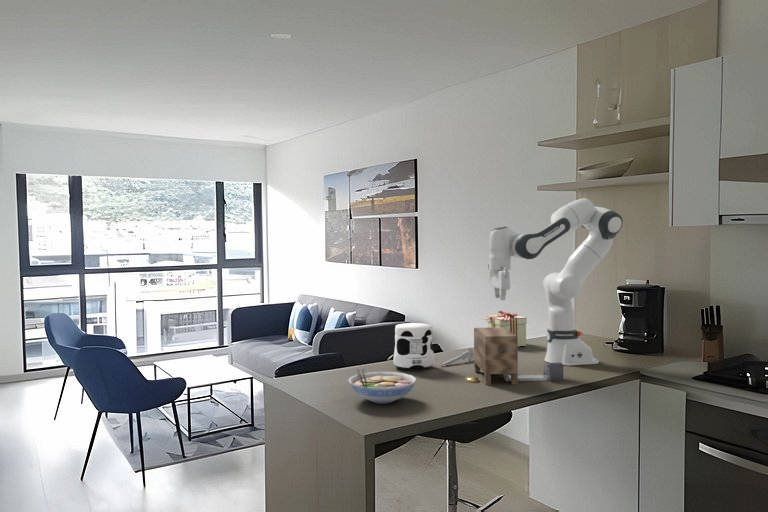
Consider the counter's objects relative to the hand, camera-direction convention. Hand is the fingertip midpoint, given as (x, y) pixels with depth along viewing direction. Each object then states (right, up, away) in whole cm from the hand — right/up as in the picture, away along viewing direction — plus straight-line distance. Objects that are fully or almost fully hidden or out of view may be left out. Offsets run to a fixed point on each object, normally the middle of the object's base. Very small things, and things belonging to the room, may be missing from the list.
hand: (500, 299), depth 242 cm
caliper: (-16, -30, +12) cm, 36 cm away
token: (-15, -30, -20) cm, 39 cm away
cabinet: (-5, -30, -16) cm, 34 cm away
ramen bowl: (-49, -31, -47) cm, 75 cm away
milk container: (-36, -30, +3) cm, 47 cm away
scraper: (+9, -29, -18) cm, 36 cm away
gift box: (+13, -28, +53) cm, 62 cm away
